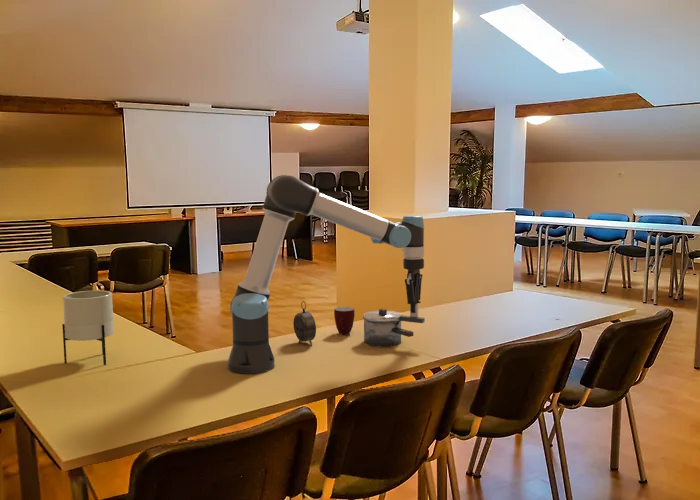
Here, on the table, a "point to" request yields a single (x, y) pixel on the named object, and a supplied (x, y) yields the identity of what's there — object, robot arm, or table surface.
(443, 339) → the table surface
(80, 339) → the planter
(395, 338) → the pot
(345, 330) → the mug
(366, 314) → the lid
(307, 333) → the alarm clock
